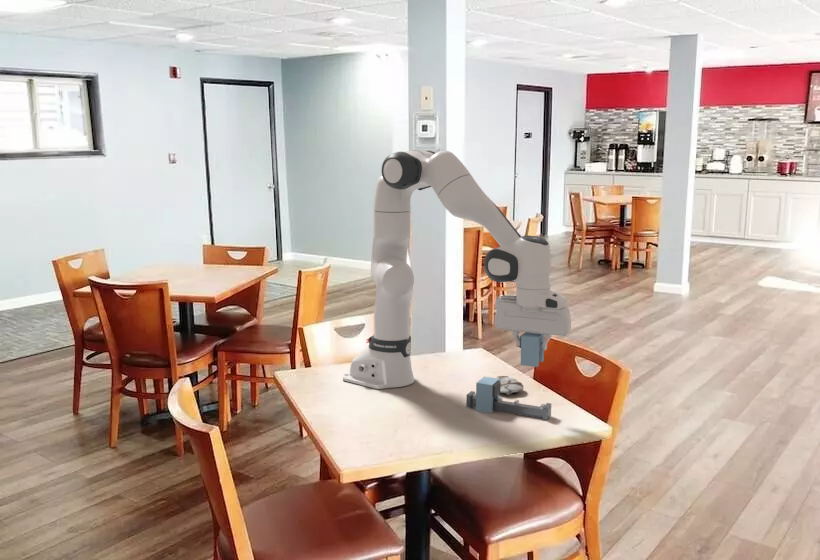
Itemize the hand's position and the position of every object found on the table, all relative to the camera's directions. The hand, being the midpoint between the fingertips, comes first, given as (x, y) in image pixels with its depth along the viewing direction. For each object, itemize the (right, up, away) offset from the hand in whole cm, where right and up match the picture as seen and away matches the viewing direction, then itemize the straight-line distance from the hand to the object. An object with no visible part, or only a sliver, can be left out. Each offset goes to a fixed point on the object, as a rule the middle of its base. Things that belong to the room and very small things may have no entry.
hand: (531, 348), depth 201 cm
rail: (-6, -18, +6) cm, 20 cm away
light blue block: (0, -4, +1) cm, 4 cm away
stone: (-4, -15, +24) cm, 29 cm away
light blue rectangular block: (-11, -18, +8) cm, 22 cm away
